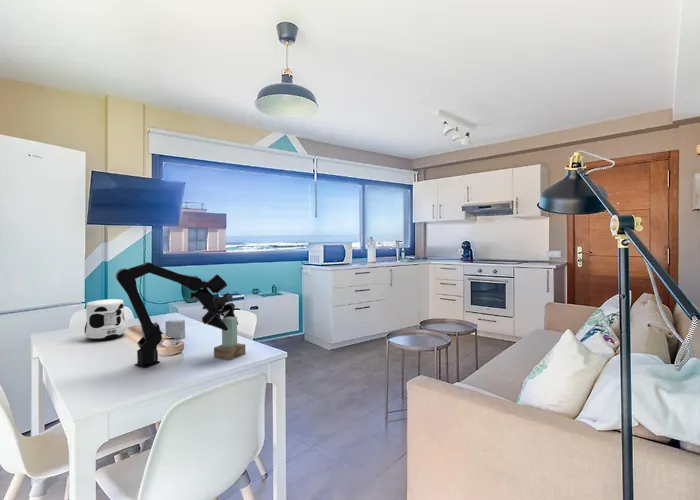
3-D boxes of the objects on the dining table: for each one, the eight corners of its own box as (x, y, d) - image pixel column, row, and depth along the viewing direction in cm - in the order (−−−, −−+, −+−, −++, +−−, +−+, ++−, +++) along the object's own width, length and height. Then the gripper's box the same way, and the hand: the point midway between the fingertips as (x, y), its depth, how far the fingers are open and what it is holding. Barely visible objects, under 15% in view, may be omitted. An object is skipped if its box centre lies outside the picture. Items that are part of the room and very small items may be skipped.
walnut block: (230, 359, 151) (230, 350, 151) (214, 356, 155) (213, 347, 155) (245, 353, 160) (245, 344, 159) (229, 350, 163) (229, 341, 163)
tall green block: (232, 347, 155) (231, 319, 154) (222, 347, 155) (221, 318, 155) (237, 344, 159) (236, 317, 159) (227, 344, 160) (227, 316, 159)
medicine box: (185, 336, 186) (185, 319, 186) (180, 339, 182) (180, 321, 182) (170, 336, 187) (170, 319, 187) (165, 338, 183) (165, 321, 182)
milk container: (101, 332, 194) (100, 298, 193) (133, 333, 193) (133, 298, 192) (75, 342, 177) (74, 304, 176) (111, 342, 176) (110, 305, 175)
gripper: (208, 290, 148) (234, 319, 146) (230, 284, 166) (254, 309, 165) (190, 309, 149) (216, 338, 148) (214, 301, 168) (237, 326, 166)
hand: (232, 327), depth 157 cm, fingers open, 9 cm apart
